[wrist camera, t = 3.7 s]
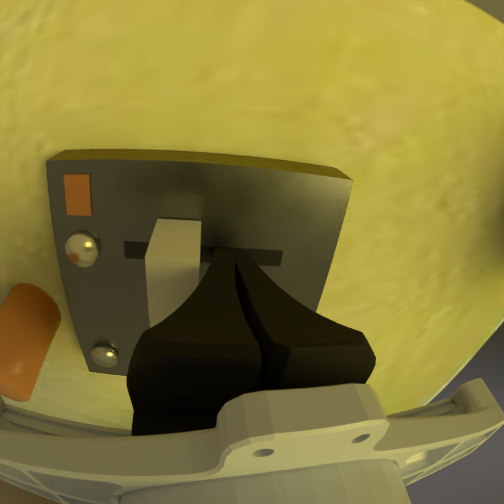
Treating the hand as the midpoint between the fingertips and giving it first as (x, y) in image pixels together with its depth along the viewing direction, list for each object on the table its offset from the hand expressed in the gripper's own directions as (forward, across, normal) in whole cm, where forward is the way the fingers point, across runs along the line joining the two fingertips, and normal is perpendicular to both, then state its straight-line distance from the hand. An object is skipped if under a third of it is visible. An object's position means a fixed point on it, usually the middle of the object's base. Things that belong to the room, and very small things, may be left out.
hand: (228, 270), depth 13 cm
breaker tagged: (+1, +2, 0) cm, 2 cm away
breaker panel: (+3, +2, +2) cm, 4 cm away
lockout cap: (+3, +12, +6) cm, 14 cm away
